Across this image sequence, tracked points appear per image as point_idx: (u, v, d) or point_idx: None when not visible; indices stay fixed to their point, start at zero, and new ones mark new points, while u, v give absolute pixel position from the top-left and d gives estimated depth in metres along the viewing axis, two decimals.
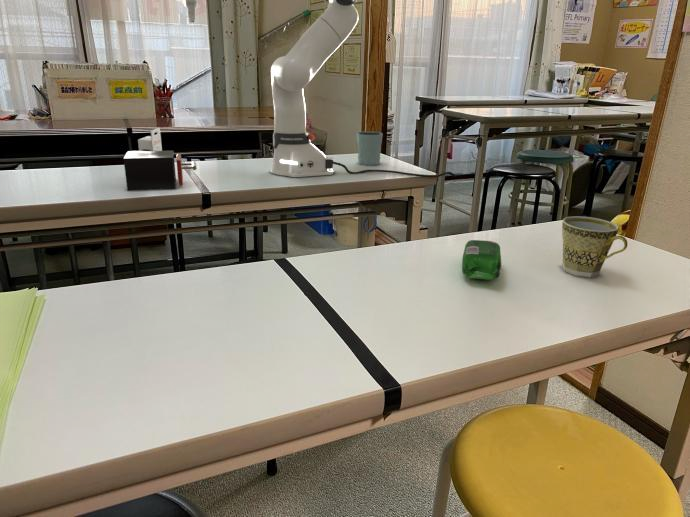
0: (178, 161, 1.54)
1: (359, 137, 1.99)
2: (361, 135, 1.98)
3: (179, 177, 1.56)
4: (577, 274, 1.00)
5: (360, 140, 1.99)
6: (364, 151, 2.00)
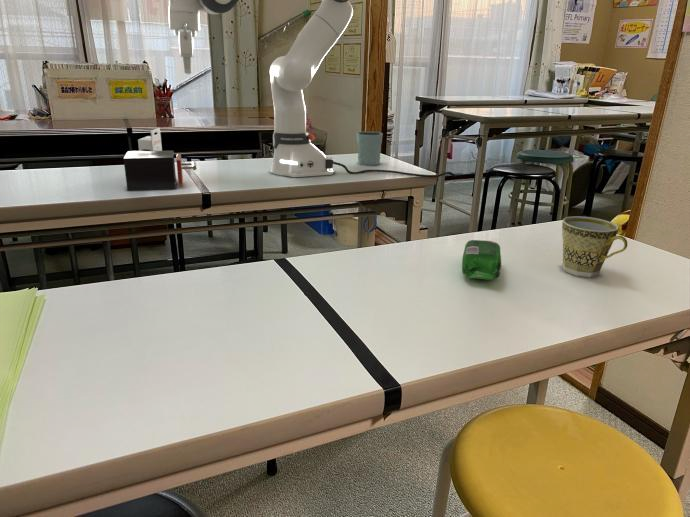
0: (178, 161, 1.54)
1: (359, 137, 1.99)
2: (361, 135, 1.98)
3: (179, 177, 1.56)
4: (577, 274, 1.00)
5: (360, 140, 1.99)
6: (364, 151, 2.00)
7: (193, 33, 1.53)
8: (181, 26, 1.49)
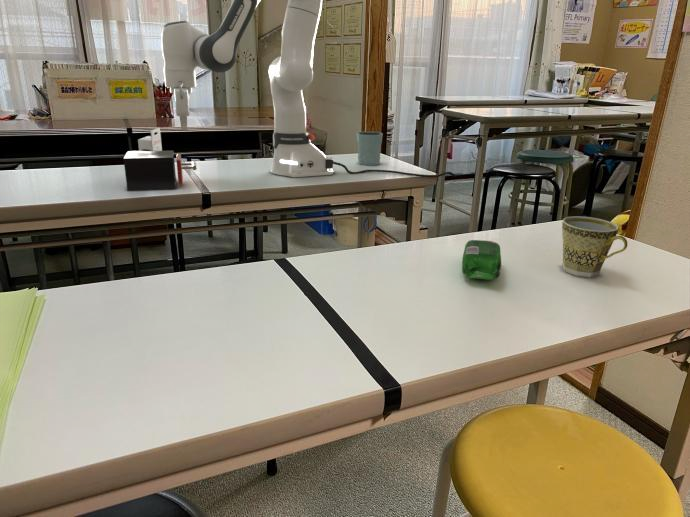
0: (178, 161, 1.54)
1: (359, 137, 1.99)
2: (361, 135, 1.98)
3: (179, 177, 1.56)
4: (577, 274, 1.00)
5: (360, 140, 1.99)
6: (364, 151, 2.00)
7: (189, 90, 1.51)
8: (177, 85, 1.48)
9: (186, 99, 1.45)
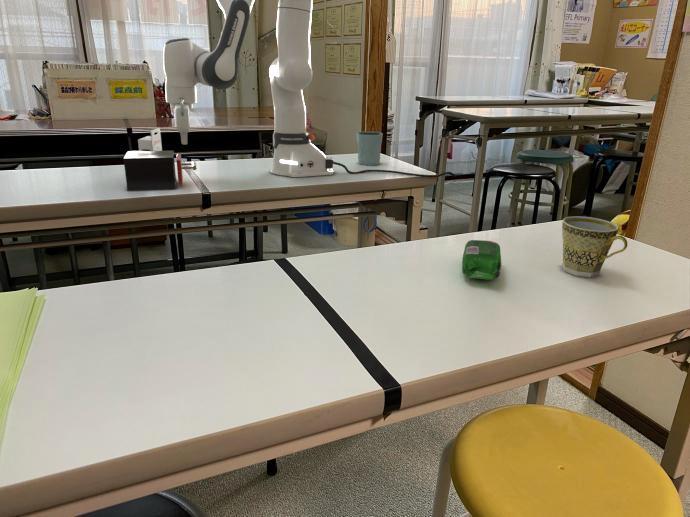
0: (178, 161, 1.54)
1: (359, 137, 1.99)
2: (361, 135, 1.98)
3: (179, 177, 1.56)
4: (577, 274, 1.00)
5: (360, 140, 1.99)
6: (364, 151, 2.00)
7: (190, 106, 1.53)
8: (178, 101, 1.49)
9: (187, 115, 1.47)
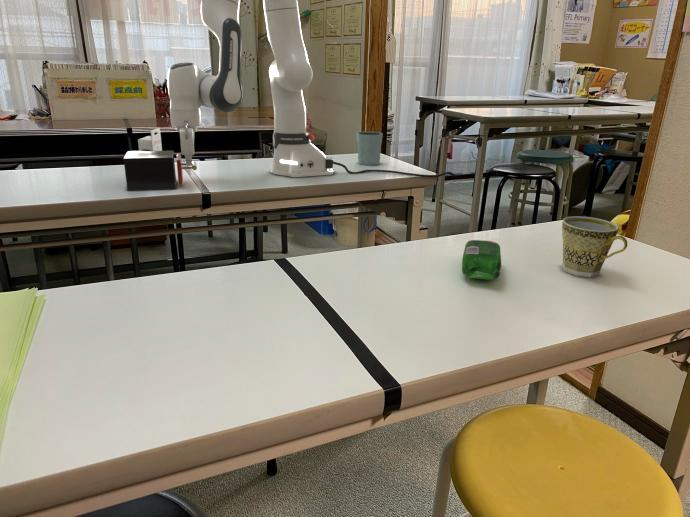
0: (178, 161, 1.54)
1: (359, 137, 1.99)
2: (361, 135, 1.98)
3: (179, 177, 1.56)
4: (577, 274, 1.00)
5: (360, 140, 1.99)
6: (364, 151, 2.00)
7: (194, 129, 1.56)
8: (182, 124, 1.52)
9: (191, 139, 1.49)
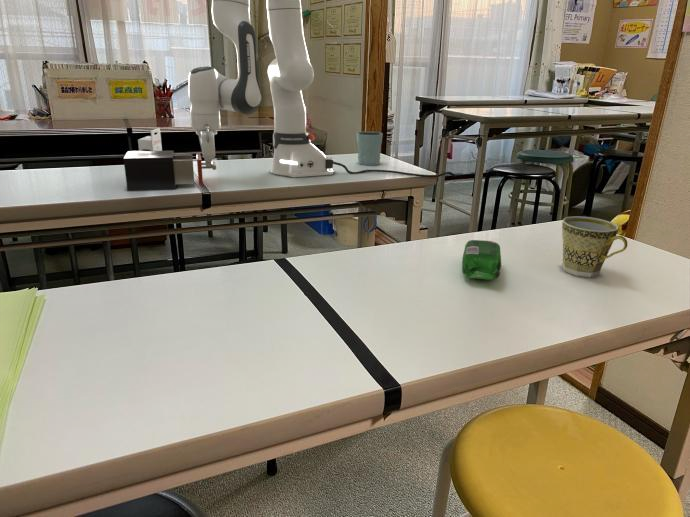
0: (199, 161, 1.56)
1: (359, 137, 1.99)
2: (361, 135, 1.98)
3: (199, 176, 1.57)
4: (577, 274, 1.00)
5: (360, 140, 1.99)
6: (364, 151, 2.00)
7: (214, 132, 1.58)
8: (203, 127, 1.54)
9: (212, 142, 1.51)
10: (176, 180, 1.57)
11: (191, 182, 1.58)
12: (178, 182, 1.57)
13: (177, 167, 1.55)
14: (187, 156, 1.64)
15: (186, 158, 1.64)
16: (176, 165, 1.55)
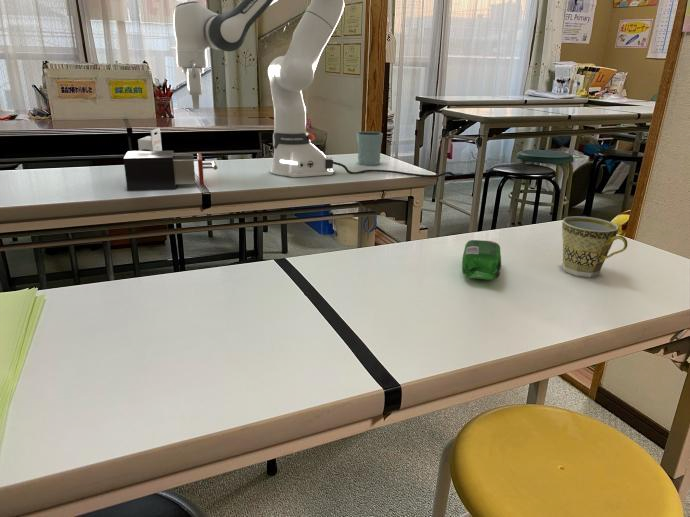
0: (200, 161, 1.56)
1: (359, 137, 1.99)
2: (361, 135, 1.98)
3: (200, 176, 1.57)
4: (577, 274, 1.00)
5: (360, 140, 1.99)
6: (364, 151, 2.00)
7: (201, 70, 1.55)
8: (189, 64, 1.51)
9: (199, 78, 1.48)
10: (177, 180, 1.57)
11: (192, 182, 1.58)
12: (179, 182, 1.57)
13: (178, 167, 1.55)
14: (188, 156, 1.64)
15: (187, 158, 1.64)
16: (177, 165, 1.55)
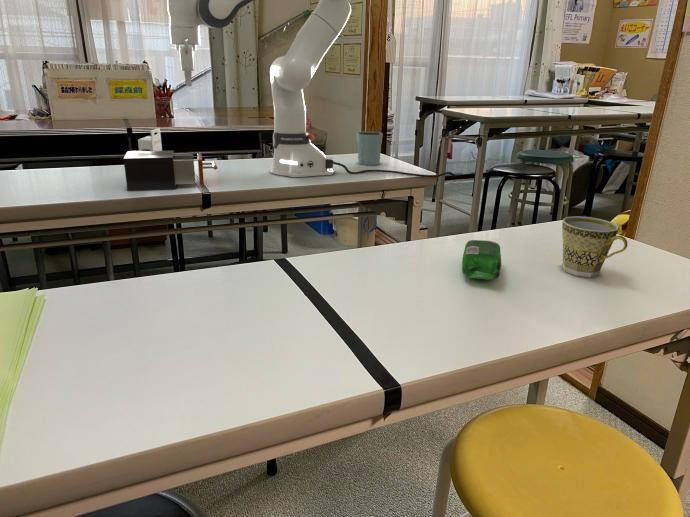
0: (200, 161, 1.56)
1: (359, 137, 1.99)
2: (361, 135, 1.98)
3: (200, 176, 1.57)
4: (577, 274, 1.00)
5: (360, 140, 1.99)
6: (364, 151, 2.00)
7: (194, 47, 1.57)
8: (182, 41, 1.53)
9: (191, 54, 1.50)
10: (177, 180, 1.57)
11: (192, 182, 1.58)
12: (179, 182, 1.57)
13: (178, 167, 1.55)
14: (188, 156, 1.64)
15: (187, 158, 1.64)
16: (177, 165, 1.55)
